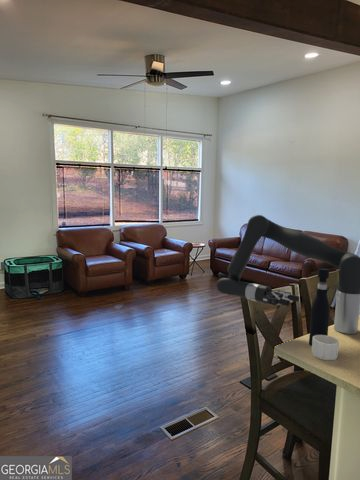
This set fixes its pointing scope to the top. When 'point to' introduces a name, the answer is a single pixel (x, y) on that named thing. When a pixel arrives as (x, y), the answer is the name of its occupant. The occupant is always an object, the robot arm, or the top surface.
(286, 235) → the robot arm
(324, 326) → the black insulated water bottle
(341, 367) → the top surface
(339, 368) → the top surface
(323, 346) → the ceramic cup
